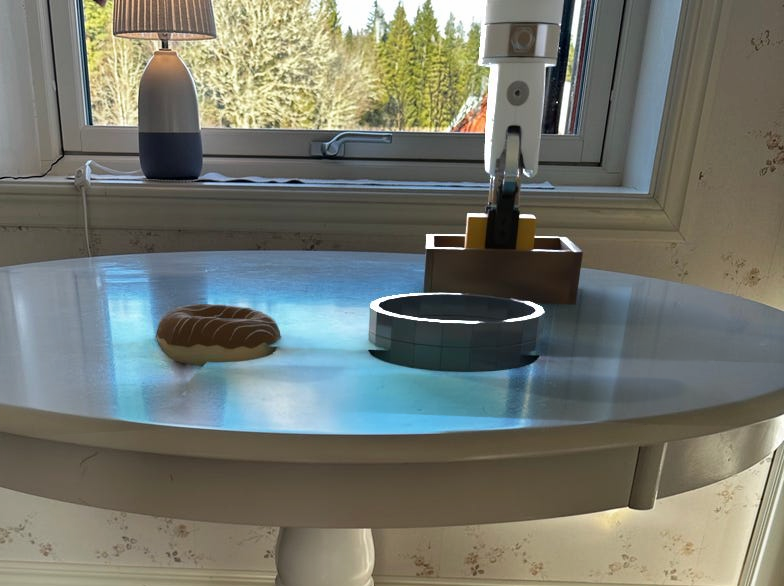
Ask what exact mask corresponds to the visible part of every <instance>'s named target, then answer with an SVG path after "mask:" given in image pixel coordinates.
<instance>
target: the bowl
mask: <svg viewBox="0 0 784 586" xmlns="http://www.w3.org/2000/svg"><path fill="white" fill-rule="evenodd" d="M368 315H369V318H368V319H369V320H368V341H369V342H370V343H371V344H372V345H374V346H375V347H377V348H380V349H367V351H368V353H369V354H370V355H371V357H373V358H375V359H377V360H379V361H381V362H385V363H388V364H390V365H391V364H392V365H395V366H399V367H405V368H410V369H416V370H424V371H437V372H449V373H450V372H451V373H452V372H453V373H484V372H485V373H486V372H499V371H508V370H514V369H519V368H524V367H526V366H530V365H532V364H534V363H536V362H537V361H538V359H539V358H540V354H530V353H534V352H535V351H537V350H538V349H540V347H541V346H542V339H543V331H544V322H545V315H546V311H545V310H544V308H543V307H542V306H540V305H538V304H537V303H531V302H527V301H522V300H518V299H513V298H506V297H499V296H491V295H479V294H462V293H423V292H422V293H421V292H420V293H419V292H418V293H409V294H398V295H392V296H386V297H381V298H378V299H376V300H374V301H371V303H370V306H369V314H368Z"/></svg>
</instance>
